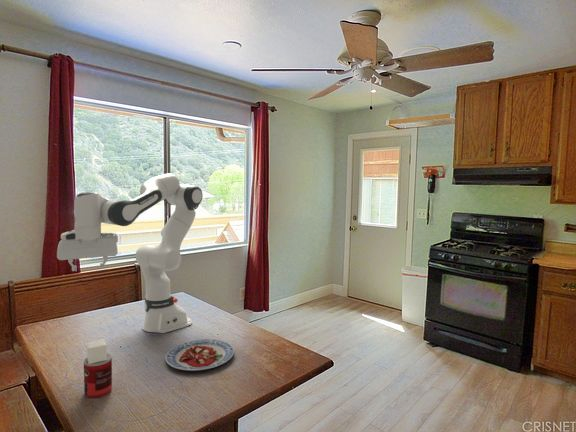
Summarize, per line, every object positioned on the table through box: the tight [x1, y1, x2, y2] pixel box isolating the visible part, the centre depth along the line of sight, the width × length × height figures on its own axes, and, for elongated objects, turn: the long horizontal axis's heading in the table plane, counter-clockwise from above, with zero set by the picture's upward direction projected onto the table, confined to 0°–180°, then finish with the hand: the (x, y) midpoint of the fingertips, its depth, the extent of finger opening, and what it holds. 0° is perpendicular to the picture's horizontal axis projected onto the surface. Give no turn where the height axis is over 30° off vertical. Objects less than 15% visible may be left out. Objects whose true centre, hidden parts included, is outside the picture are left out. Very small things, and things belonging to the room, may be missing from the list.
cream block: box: [86, 338, 108, 364], centre depth 110 cm, size 5×5×5 cm
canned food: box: [83, 353, 113, 399], centre depth 111 cm, size 8×8×11 cm
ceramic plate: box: [165, 338, 235, 372], centre depth 135 cm, size 26×26×3 cm
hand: (88, 269), depth 133 cm, fingers open, 8 cm apart
